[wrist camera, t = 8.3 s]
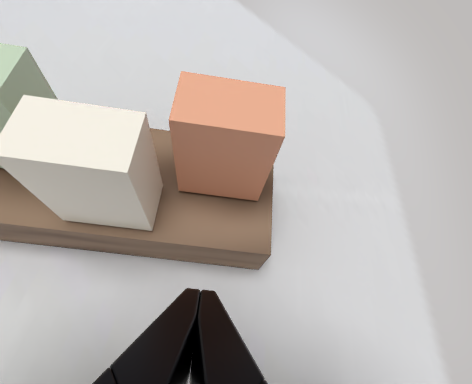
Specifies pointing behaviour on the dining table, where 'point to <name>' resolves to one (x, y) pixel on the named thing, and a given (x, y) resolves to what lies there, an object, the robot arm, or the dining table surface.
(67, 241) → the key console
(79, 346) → the dining table surface
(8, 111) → the sage key
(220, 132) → the terracotta key
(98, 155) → the cream key
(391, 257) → the dining table surface
